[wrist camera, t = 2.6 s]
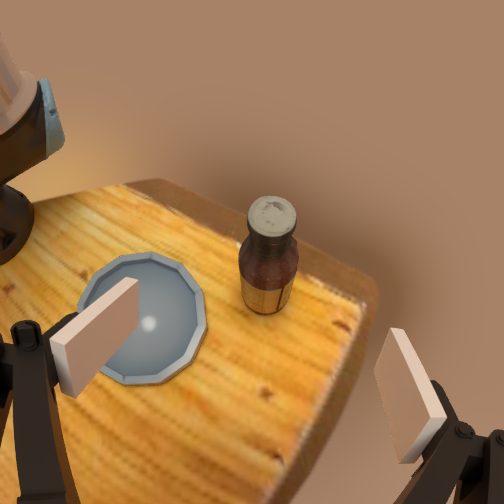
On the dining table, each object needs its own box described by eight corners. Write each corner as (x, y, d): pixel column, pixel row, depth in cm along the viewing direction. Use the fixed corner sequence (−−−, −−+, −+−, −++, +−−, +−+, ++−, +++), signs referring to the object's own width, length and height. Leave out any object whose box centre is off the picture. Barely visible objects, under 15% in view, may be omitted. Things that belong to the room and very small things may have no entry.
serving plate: (85, 266, 45) (80, 261, 43) (199, 252, 46) (198, 245, 45) (84, 386, 37) (78, 384, 35) (213, 379, 38) (212, 377, 37)
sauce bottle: (275, 266, 46) (293, 172, 28) (296, 305, 43) (331, 227, 25) (232, 285, 44) (224, 196, 27) (251, 325, 42) (257, 258, 24)
